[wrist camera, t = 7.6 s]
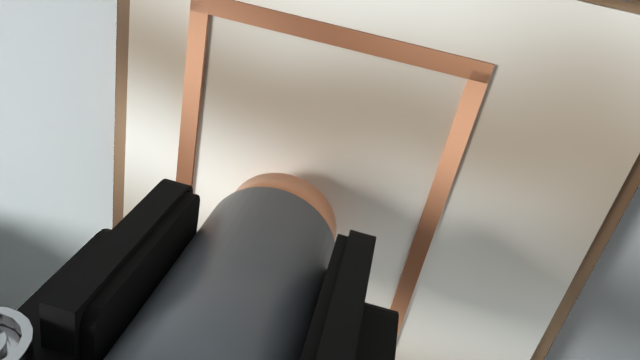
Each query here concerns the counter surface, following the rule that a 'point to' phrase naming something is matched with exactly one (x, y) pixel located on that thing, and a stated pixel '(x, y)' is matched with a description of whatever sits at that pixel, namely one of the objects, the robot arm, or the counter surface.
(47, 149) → the counter surface
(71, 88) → the counter surface
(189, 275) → the cylinder
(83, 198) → the counter surface
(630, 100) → the cream tray
